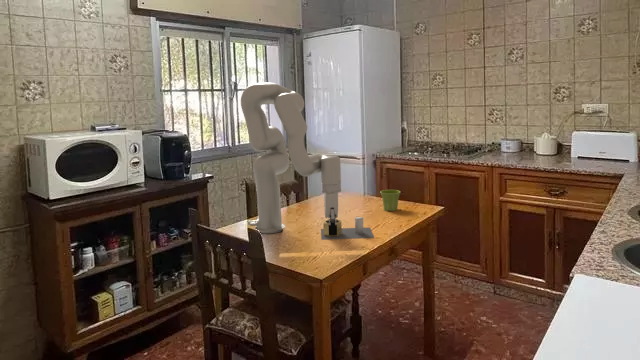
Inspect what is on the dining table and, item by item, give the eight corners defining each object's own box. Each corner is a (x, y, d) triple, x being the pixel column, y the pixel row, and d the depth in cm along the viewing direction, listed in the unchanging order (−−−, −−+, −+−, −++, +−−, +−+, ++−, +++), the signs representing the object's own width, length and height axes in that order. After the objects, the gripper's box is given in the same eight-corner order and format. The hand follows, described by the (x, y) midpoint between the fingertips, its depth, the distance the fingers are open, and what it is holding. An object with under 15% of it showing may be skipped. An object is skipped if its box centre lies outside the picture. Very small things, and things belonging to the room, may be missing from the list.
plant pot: (376, 208, 240) (376, 191, 238) (393, 206, 244) (393, 188, 242) (387, 213, 231) (387, 194, 230) (404, 210, 235) (404, 192, 234)
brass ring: (323, 236, 195) (323, 224, 194) (323, 231, 202) (323, 219, 201) (342, 236, 195) (341, 223, 194) (341, 230, 202) (340, 218, 201)
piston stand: (321, 242, 192) (320, 224, 191) (320, 231, 206) (320, 214, 205) (374, 240, 192) (374, 222, 191) (370, 230, 206) (369, 213, 205)
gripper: (321, 183, 204) (322, 226, 207) (321, 192, 187) (323, 239, 190) (339, 182, 204) (341, 225, 207) (342, 192, 187) (343, 238, 190)
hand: (332, 231), depth 199 cm, fingers closed on brass ring, 7 cm apart
